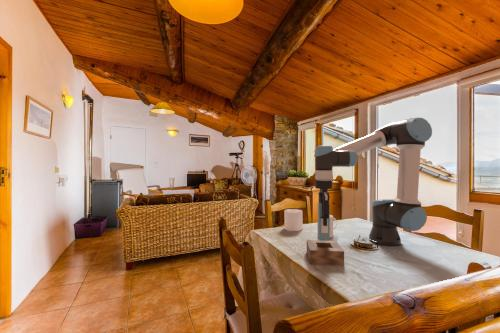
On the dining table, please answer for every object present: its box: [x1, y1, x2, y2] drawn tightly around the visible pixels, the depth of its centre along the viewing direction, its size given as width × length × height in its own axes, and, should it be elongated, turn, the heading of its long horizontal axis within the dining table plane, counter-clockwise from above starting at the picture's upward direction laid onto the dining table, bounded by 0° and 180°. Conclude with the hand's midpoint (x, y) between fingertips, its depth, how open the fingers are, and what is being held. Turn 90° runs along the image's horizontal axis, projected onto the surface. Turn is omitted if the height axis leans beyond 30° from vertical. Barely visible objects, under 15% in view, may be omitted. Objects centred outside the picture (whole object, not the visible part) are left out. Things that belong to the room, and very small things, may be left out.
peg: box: [317, 202, 331, 241], centre depth 108 cm, size 4×4×16 cm
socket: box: [306, 239, 345, 266], centre depth 108 cm, size 14×14×6 cm
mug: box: [330, 214, 337, 238], centre depth 141 cm, size 12×8×12 cm
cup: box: [283, 208, 304, 232], centre depth 156 cm, size 12×12×12 cm
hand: (323, 230), depth 108 cm, fingers closed on peg, 4 cm apart
